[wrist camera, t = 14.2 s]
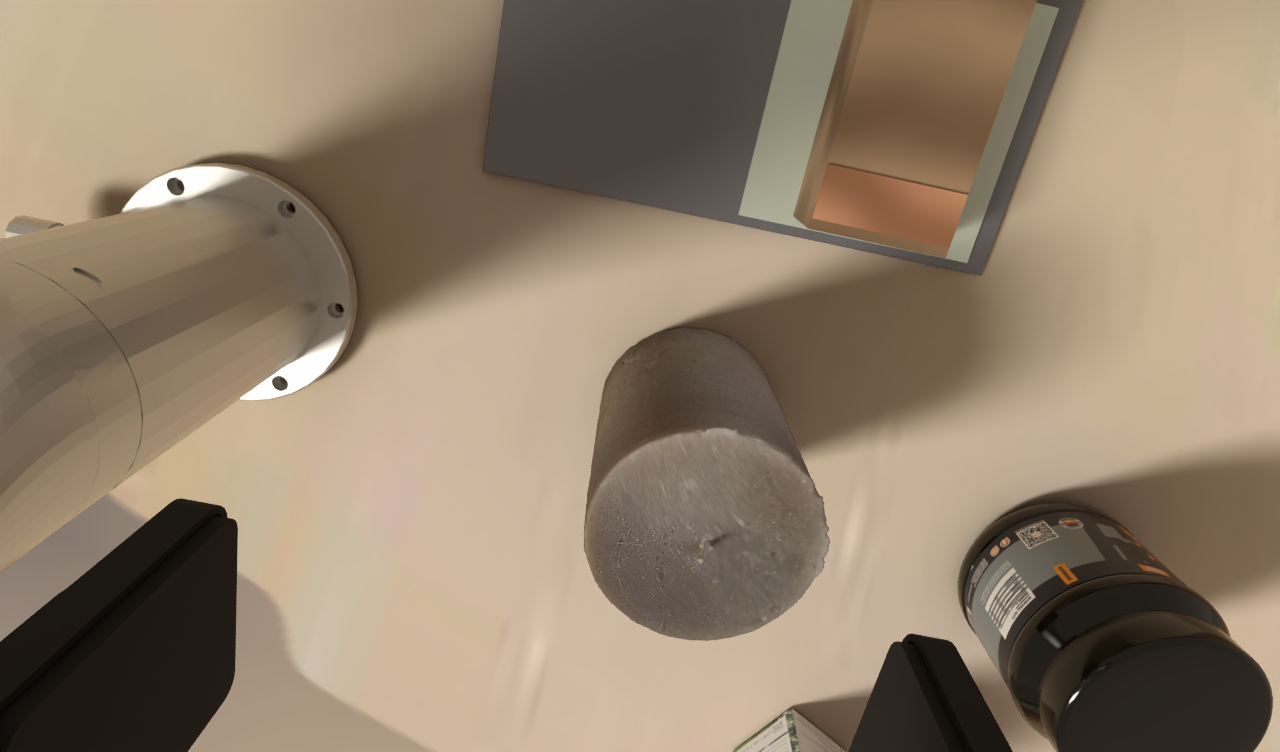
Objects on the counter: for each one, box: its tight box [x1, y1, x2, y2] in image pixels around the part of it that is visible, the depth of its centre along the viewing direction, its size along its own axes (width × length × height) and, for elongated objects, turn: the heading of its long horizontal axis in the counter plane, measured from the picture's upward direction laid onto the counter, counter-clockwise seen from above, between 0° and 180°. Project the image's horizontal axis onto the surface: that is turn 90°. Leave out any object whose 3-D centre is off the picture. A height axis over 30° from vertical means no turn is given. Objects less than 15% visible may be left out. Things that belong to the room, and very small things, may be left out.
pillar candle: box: [584, 328, 830, 641], centre depth 35 cm, size 10×10×15 cm
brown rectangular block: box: [793, 0, 1037, 258], centre depth 34 cm, size 11×6×4 cm, turn 168°
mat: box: [483, 0, 1083, 276], centre depth 35 cm, size 26×20×1 cm
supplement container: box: [958, 502, 1273, 752], centre depth 40 cm, size 10×10×12 cm
